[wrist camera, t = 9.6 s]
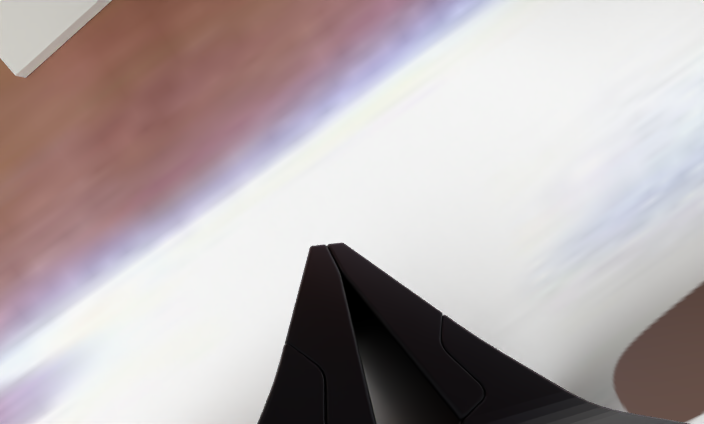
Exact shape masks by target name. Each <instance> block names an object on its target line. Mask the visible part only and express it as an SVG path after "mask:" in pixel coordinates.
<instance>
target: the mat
mask: <svg viewBox="0 0 704 424" xmlns="http://www.w3.org/2000/svg"><path fill="white" fill-rule="evenodd" d="M111 1H112V0H0V58H1V59H2V61H3V62H4V63H5V64H6V65H7V66H8V67H9V69H10V70H11V71H12V72H13V73H14V74H15V75H16V76H20V77H24V78H26V77H27V76H28V75H29V74H31V73H32V72H33V71H34V70H35V69H36V68H37V67H38V66H39V65H41V64H42V63H43V62H44V61H45V60H46V59H47V58H48V57H49V56H51V55H52V54H53V53H54V52H55V51H56V50H57V49H58V48H60V47H61V46H62V45H63V44H64V43H65V42H66V41H67V40H68V39H70V38H71V37H72V36H73V35H74V34H75V33H76V32H77V31H78V30H80V29H81V28H82V27H83V26H84V25H85V24H86V23H87V22H88V21H90V20H91V19H92V18H93V17H94V16H95V15H96V14H97V13H98V12H100V11H101V10H102V9H103V8H104V7H105V6H106V5H107V4H108V3H110V2H111Z"/></svg>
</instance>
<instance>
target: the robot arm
mask: <svg viewBox="0 0 704 424" xmlns="http://www.w3.org/2000/svg"><path fill="white" fill-rule="evenodd" d="M257 424H689V423H683V422H677V421H672V420H666V419H660V418H655V417H649V416H643V415H637V414H632V413H627V412H621V411H617V410H612V409H609V408H605V407H602V406H599V405H596V404H594V403H591V402H589V401H586V400H584V399H582V398H580V397H578V396H576V395H574V394H572V393H570V392H569V391H567V390H565V389H563V388H562V387H560V386H558V385H556V384H555V383H553V382H551V381H550V380H548V379H546V378H545V377H543V376H541V375H540V374H538V373H536V372H534V371H533V370H531V369H529V368H528V367H526V366H524V365H523V364H521V363H519V362H518V361H516V360H514V359H512V358H511V357H509V356H507V355H506V354H504V353H502V352H501V351H499V350H497V349H496V348H494V347H493V346H491V345H489V344H488V343H486V342H485V341H483V340H481V339H480V338H478V337H477V336H475V335H474V334H472V333H471V332H469V331H468V330H466V329H465V328H463V327H462V326H460V325H459V324H457V323H456V322H455V321H453V320H452V319H450V318H449V317H448V316H446V315H443V314H442V312H440V311H439V310H437V309H436V308H435V307H433V306H432V305H430V304H429V303H428V302H426V301H425V300H423V299H422V298H420V297H419V296H418V295H416V294H415V293H413V292H412V291H411V290H409V289H408V288H406V287H405V286H403V285H402V284H401V283H399V282H398V281H396V280H395V279H394V278H392V277H391V276H389V275H388V274H387V273H385V272H384V271H382V270H381V269H379V268H378V267H377V266H375V265H374V264H372V263H371V262H370V261H368V260H367V259H365V258H364V257H362V256H361V255H360V254H358V253H357V252H355V251H354V250H353V249H351V248H350V247H348V246H347V245H346V244H344V243H334V244H328V245H327V246H326V245H316V246H311V247H310V249H309V253H308V257H307V261H306V264H305V268H304V272H303V276H302V280H301V284H300V287H299V291H298V295H297V299H296V303H295V307H294V310H293V314H292V318H291V322H290V326H289V330H288V333H287V337H286V341H285V345H284V348H283V352H282V355H281V359H280V363H279V366H278V369H277V372H276V376H275V379H274V382H273V385H272V388H271V391H270V393H269V396H268V398H267V401H266V404H265V406H264V409H263V412H262V414H261V416H260V419H259V421H258V423H257Z"/></svg>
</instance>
